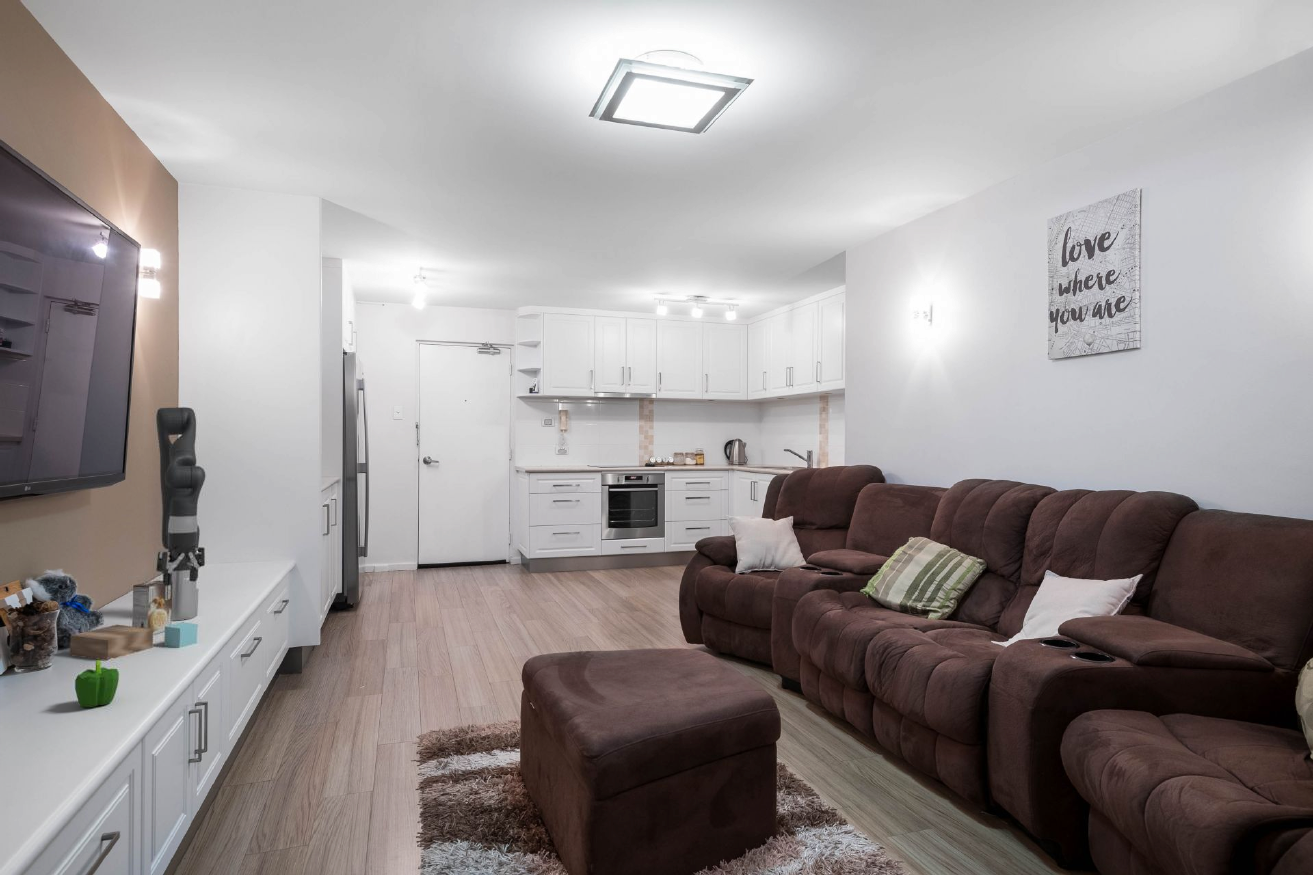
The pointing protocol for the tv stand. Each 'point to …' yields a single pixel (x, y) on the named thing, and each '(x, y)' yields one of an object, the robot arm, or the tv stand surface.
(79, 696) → the bell pepper
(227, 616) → the tv stand surface
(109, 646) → the walnut block
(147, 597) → the coffee box
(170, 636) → the teal cube
